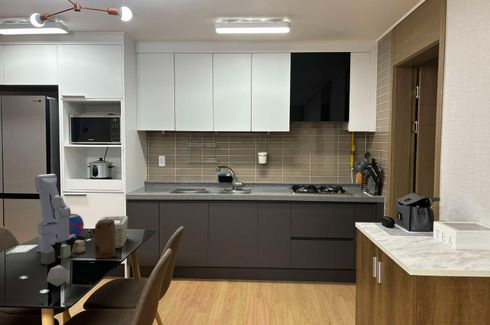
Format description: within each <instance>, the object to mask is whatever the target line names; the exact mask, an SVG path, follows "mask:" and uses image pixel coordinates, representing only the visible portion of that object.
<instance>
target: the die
mask: <svg viewBox="0 0 490 325" xmlns="http://www.w3.org/2000/svg"><path fill="white" fill-rule="evenodd" d="M69 273H70V271H69V269H67V268H65V267H64V266H62V265H60V264H58V265H56V266H54V267H51V268H50V270H49V272H48V274H47V278H46V282H48V283H50V284H52V285H53V286H55V287H59V286H60V285H63V284H65V283H66V282H67V280H68V277H69ZM64 282H65V283H64Z"/></svg>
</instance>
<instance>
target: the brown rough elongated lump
mask: <svg viewBox="0 0 490 325" xmlns="http://www.w3.org/2000/svg"><path fill="white" fill-rule="evenodd" d="M95 225H96V226H94V233H93V246H94V247H93V249H94V250H93V251H94V257H95V258H97V259H110V258H113V257H115V255H116V248H115V221H114V220H107V219H105V220H100V219H99V220H98V221H97V222H96V224H95Z"/></svg>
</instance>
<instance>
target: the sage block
mask: <svg viewBox="0 0 490 325" xmlns="http://www.w3.org/2000/svg"><path fill="white" fill-rule="evenodd" d="M71 253H72V252H71V251H70V245H67V244H62V245H61V250H60V256H59V257H58V256H57V258H59V259H66V258H70V257H71V256H72V254H71Z"/></svg>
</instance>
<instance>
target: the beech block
mask: <svg viewBox="0 0 490 325" xmlns="http://www.w3.org/2000/svg"><path fill="white" fill-rule="evenodd" d="M85 246H86V243H85V240H82V239H76V241H75V243H74V245H73V248H72V253H73V254H74V253H76V254H80V253H84V252H85V251H86V247H85Z"/></svg>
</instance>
